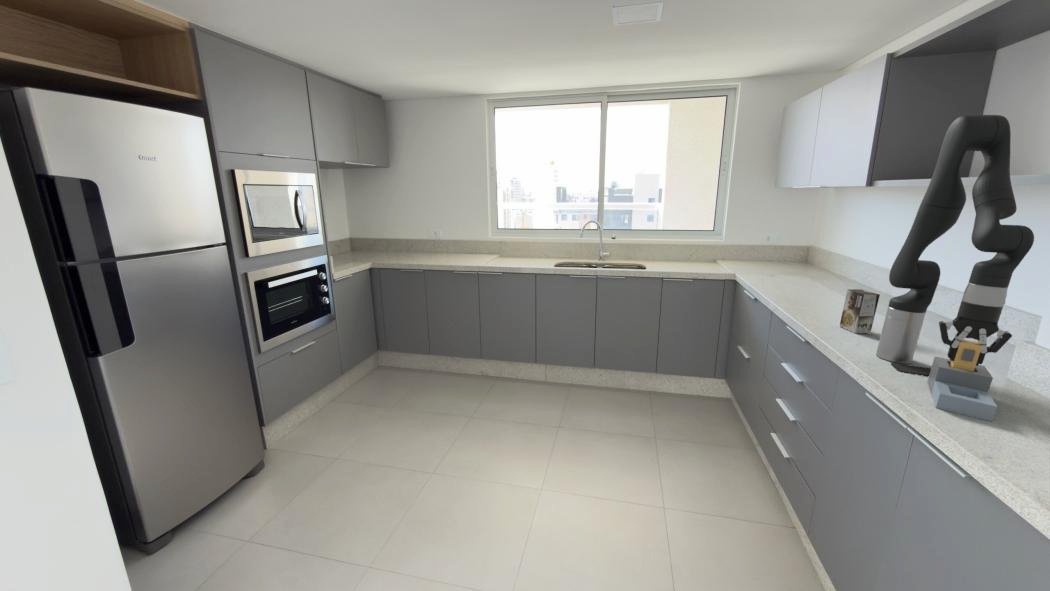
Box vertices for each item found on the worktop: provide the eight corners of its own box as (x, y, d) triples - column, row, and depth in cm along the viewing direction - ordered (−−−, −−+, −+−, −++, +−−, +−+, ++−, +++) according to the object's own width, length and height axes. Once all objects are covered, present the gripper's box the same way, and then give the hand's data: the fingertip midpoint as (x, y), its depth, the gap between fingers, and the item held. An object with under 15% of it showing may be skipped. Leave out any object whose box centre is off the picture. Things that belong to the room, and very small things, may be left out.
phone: (889, 362, 136) (950, 370, 130) (889, 364, 136) (949, 373, 130) (898, 370, 129) (962, 380, 123) (898, 373, 129) (961, 382, 123)
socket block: (927, 381, 123) (934, 356, 121) (975, 392, 117) (984, 366, 115) (935, 407, 107) (944, 379, 105) (992, 421, 101) (1002, 391, 99)
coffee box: (871, 334, 164) (881, 294, 160) (854, 333, 164) (864, 294, 160) (853, 326, 173) (862, 289, 169) (838, 326, 173) (846, 288, 169)
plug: (947, 372, 117) (958, 338, 115) (967, 376, 115) (979, 342, 112) (950, 377, 114) (961, 343, 111) (971, 382, 111) (982, 347, 109)
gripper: (1018, 304, 108) (998, 365, 112) (943, 294, 116) (926, 351, 121) (1027, 310, 102) (1005, 374, 106) (946, 299, 111) (929, 359, 115)
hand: (963, 362), depth 114 cm, fingers closed on plug, 4 cm apart
